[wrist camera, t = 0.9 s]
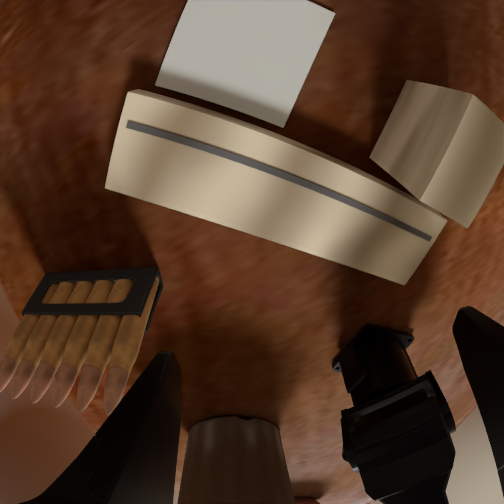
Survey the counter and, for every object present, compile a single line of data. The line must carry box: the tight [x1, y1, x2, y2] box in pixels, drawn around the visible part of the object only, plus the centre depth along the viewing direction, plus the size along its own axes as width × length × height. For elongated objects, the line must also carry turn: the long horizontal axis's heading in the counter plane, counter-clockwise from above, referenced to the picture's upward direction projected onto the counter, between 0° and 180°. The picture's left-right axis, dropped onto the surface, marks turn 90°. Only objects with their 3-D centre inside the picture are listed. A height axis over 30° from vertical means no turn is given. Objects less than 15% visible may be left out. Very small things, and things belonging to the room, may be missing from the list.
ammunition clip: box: [0, 267, 163, 415], centre depth 19 cm, size 11×2×12 cm, turn 94°
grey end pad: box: [155, 0, 335, 128], centre depth 15 cm, size 8×8×1 cm
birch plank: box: [105, 89, 447, 285], centre depth 20 cm, size 22×6×2 cm, turn 69°
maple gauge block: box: [369, 80, 504, 229], centre depth 16 cm, size 4×6×7 cm, turn 159°
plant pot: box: [178, 416, 295, 504], centre depth 32 cm, size 16×16×16 cm
